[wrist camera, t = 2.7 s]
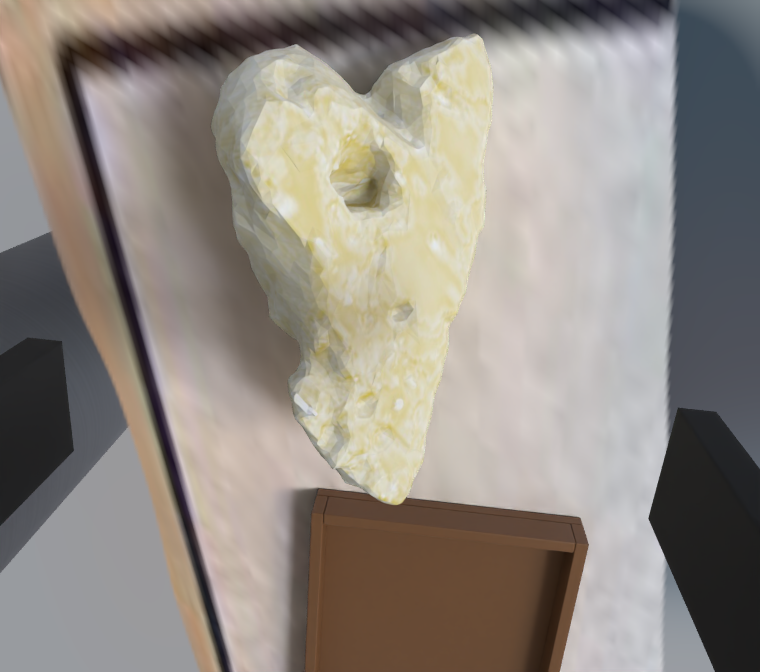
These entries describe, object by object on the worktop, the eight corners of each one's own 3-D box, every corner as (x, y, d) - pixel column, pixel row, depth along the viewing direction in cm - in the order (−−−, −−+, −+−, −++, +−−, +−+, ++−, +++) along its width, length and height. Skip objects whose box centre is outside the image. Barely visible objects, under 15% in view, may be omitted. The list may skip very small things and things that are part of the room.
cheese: (307, -31, 28) (30, 222, 23) (428, -93, 22) (94, 225, 17) (476, 243, 36) (299, 472, 31) (596, 249, 30) (403, 530, 26)
